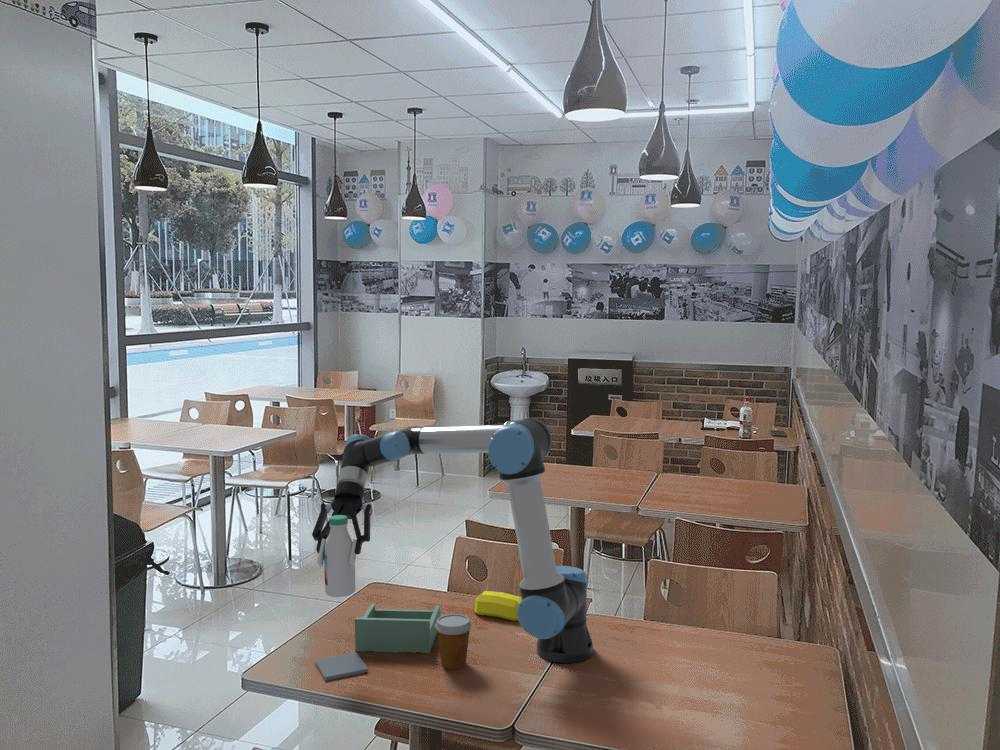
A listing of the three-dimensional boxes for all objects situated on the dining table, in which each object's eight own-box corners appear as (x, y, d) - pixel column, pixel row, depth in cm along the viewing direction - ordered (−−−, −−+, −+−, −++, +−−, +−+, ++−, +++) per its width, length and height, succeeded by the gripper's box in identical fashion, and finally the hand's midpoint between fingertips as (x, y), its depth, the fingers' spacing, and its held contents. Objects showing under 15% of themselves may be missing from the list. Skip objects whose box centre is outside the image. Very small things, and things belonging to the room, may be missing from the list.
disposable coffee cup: (455, 676, 211) (455, 630, 210) (428, 666, 217) (427, 621, 216) (479, 662, 219) (479, 618, 217) (451, 653, 224) (451, 610, 223)
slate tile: (368, 672, 213) (367, 668, 213) (325, 681, 209) (325, 677, 208) (356, 655, 223) (356, 652, 223) (315, 663, 218) (315, 659, 218)
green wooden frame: (372, 621, 246) (371, 592, 245) (440, 623, 245) (440, 593, 244) (355, 651, 226) (354, 619, 225) (429, 653, 224) (429, 621, 223)
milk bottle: (361, 589, 216) (359, 514, 214) (343, 599, 209) (341, 522, 207) (337, 585, 220) (335, 511, 218) (318, 595, 213) (316, 518, 211)
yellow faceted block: (522, 625, 244) (532, 615, 251) (522, 602, 243) (532, 594, 250) (468, 615, 251) (479, 606, 258) (467, 593, 251) (479, 585, 258)
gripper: (390, 494, 227) (377, 572, 212) (317, 493, 228) (300, 570, 214) (385, 480, 221) (372, 558, 207) (310, 479, 223) (292, 556, 208)
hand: (335, 564), depth 210 cm, fingers closed on milk bottle, 7 cm apart
